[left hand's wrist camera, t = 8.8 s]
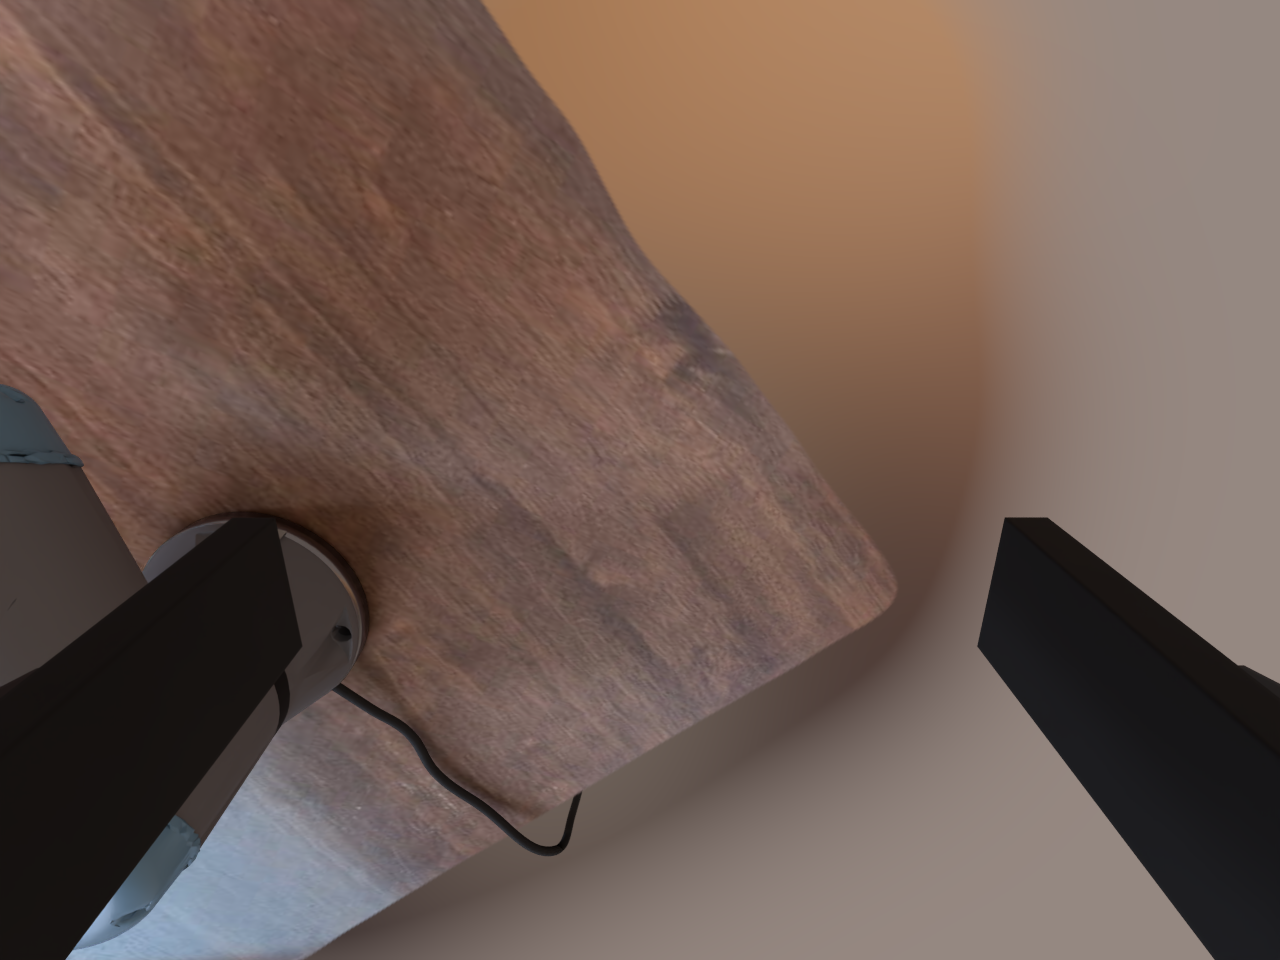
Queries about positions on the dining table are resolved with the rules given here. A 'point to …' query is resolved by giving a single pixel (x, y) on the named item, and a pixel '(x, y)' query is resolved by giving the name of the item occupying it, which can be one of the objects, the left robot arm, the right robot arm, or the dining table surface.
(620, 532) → the dining table surface
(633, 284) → the dining table surface
